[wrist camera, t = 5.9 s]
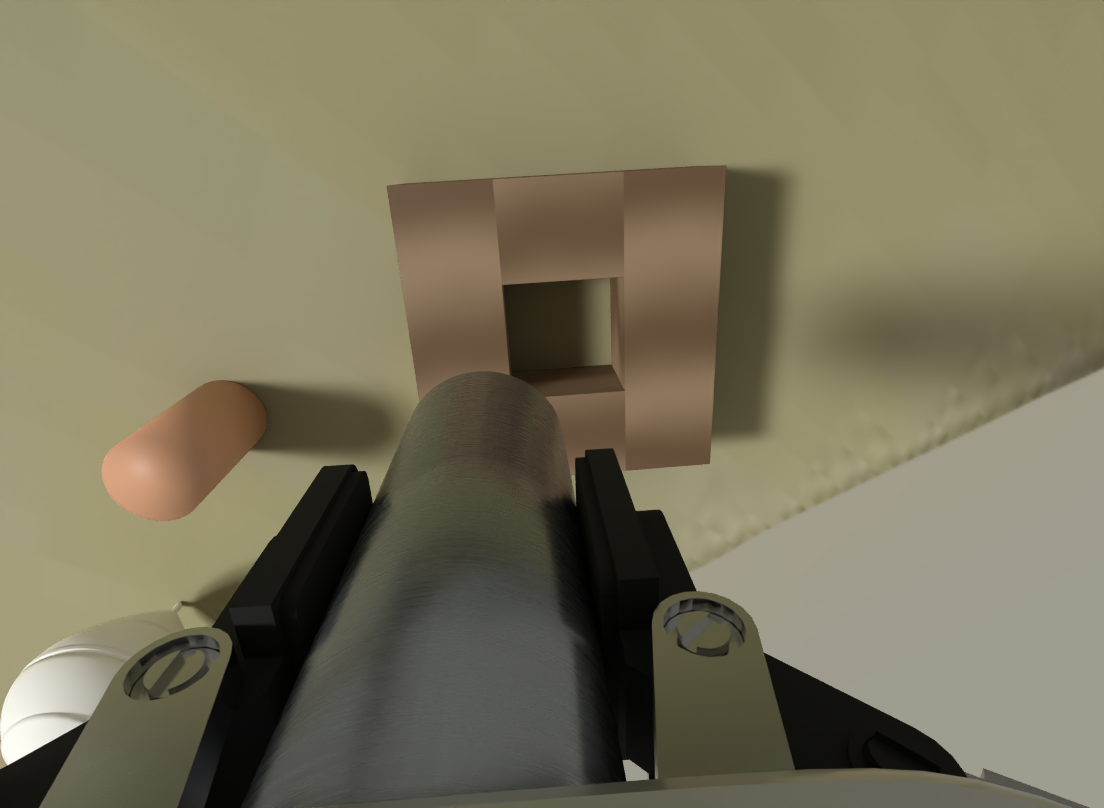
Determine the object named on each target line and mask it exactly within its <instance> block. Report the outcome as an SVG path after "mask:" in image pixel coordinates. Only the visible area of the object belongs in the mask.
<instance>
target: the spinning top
mask: <svg viewBox="0 0 1104 808" xmlns="http://www.w3.org/2000/svg"><path fill="white" fill-rule="evenodd" d="M182 606H183V605H182V603H176V605H175V606H174V607H173V609H172V610H171V611H170V610H165V611H154V612H147V613H141V614H136V615H132V616H128V617H123V618H119V619H115V620H110V621H107V622H104V623H101V624H99V625H96V626H93V627H91V628H88V629H86V630H83V631H81V632H78V633H76V634H74V635H71V636H69V637H67V638H65V639H63V640H61V641H59V642H57V643H56V644H54V645H52V646H51V647H49V648H48V649H46V650H45V651H44V652H42V653H41V654H40V655H39V656H38V657H37V658H35V659H34V660H33V661H32V662H30V663H29V664H28V665H27V666H26V667H25V668H24V670H23V671H22V672H21V674H20V675H19V676H18V677H17V679H16V680H15V682H14V683H13V685H12V686H11V688H10V690H9V692H8V694H7V697H6V699H5V702H4V705H3V709H2V714H1V722H0V732H1V752H2V756H3V758H4V760H5V762H6V763H7V765H9V764H11V763H13V762H15V761H16V760H18V759H20V758H22V757H24V756H25V755H27V754H29V753H31V752H33V751H34V750H36V749H38V748H40V747H41V746H43V745H45V744H47V743H49V742H50V741H52V740H54V739H56V738H58V737H59V736H61V735H63V734H65V733H67V732H68V731H70V730H72V729H74V728H76V727H77V726H79V725H81V724H83V723H85V722H86V721H88V720H89V719H90V717H91V716H92V714H93V712H94V710H95V709H96V707H97V705H98V703H99V702H100V700H101V698H102V696H103V695H104V693H105V691H106V689H107V688H108V686H109V684H110V682H111V681H112V679H113V677H114V676H115V675H116V673H117V672H118V671H119V669H120V668H121V667H122V666H123V664H124V663H126V662H127V661H128V660H129V659H130V658H131V657H132V656H134V655H135V654H136V653H137V652H138V651H140V650H142V649H143V648H145V647H146V646H148V645H150V644H151V643H153V642H154V641H156V640H159V639H161V638H163V637H165V636H168V635H170V634H172V633H175V632H179V631H183V630H185V629H184V626H183V624H182V622H181V620H180V618H179V616H178V614H177V613H178V611H179V610H180V609H181V608H182Z"/></svg>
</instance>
